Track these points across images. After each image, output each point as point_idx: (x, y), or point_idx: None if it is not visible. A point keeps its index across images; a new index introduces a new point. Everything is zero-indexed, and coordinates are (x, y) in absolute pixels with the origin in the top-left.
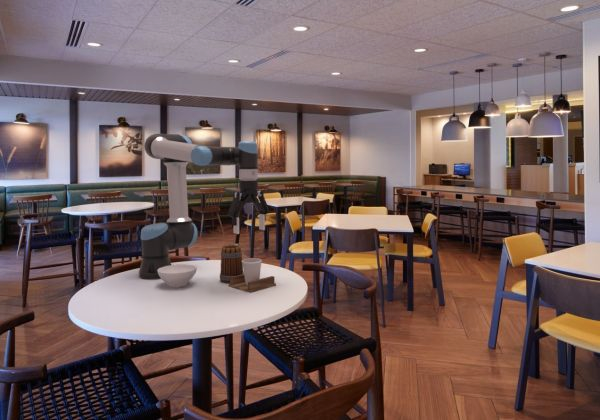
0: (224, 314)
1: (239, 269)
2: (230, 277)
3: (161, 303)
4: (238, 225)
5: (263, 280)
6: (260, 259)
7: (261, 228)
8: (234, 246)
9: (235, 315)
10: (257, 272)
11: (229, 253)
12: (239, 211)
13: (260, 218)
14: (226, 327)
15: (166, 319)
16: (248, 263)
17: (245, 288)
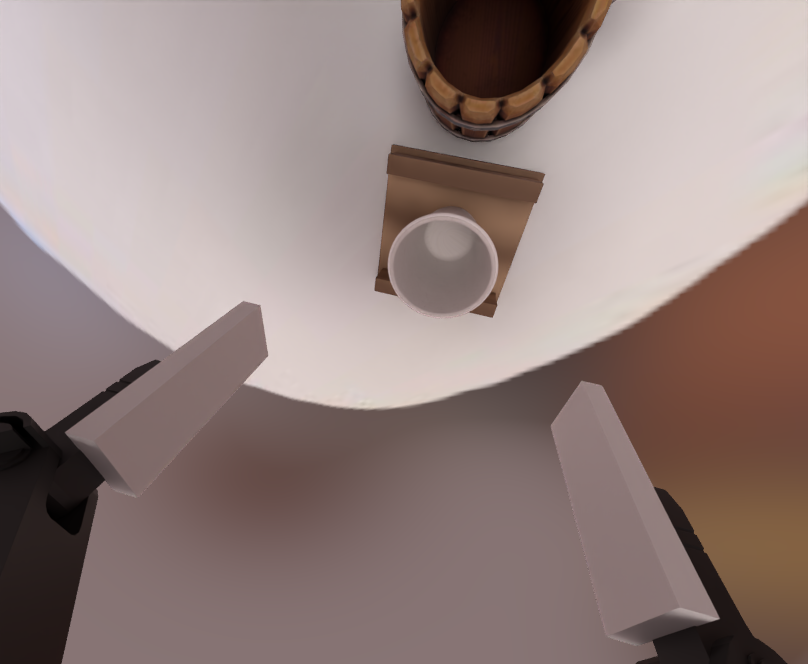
0: None
1: (477, 135)
2: (388, 157)
3: (103, 88)
4: (207, 410)
5: None
6: (480, 298)
7: (568, 416)
8: None
9: None
10: (436, 287)
11: (419, 77)
12: (49, 613)
13: (619, 528)
14: None
15: (107, 236)
16: (392, 284)
17: (387, 251)
